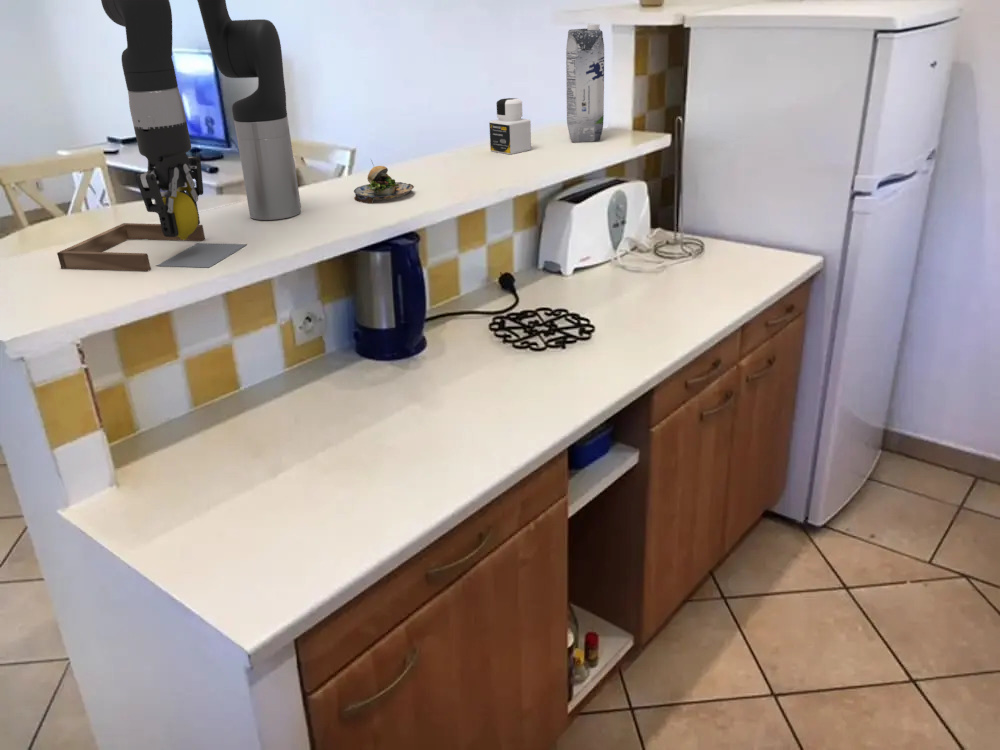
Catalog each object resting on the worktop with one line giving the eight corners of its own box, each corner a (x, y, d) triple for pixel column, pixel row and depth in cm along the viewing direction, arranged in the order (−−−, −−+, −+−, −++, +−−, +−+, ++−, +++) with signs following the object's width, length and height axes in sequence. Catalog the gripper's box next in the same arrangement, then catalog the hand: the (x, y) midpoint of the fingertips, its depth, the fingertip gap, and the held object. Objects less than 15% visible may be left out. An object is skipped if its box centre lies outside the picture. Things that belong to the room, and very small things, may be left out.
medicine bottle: (490, 151, 204) (487, 99, 199) (511, 146, 208) (509, 96, 203) (510, 154, 199) (508, 101, 194) (531, 150, 203) (530, 98, 198)
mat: (197, 243, 141) (197, 243, 141) (246, 244, 139) (246, 244, 139) (156, 266, 130) (156, 265, 130) (209, 267, 128) (209, 267, 128)
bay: (126, 237, 146) (123, 223, 145) (205, 239, 143) (202, 224, 142) (61, 268, 131) (56, 252, 130) (147, 271, 128) (143, 255, 127)
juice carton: (567, 143, 209) (567, 25, 197) (566, 136, 218) (565, 23, 207) (604, 142, 208) (605, 24, 197) (601, 135, 218) (602, 21, 206)
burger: (370, 208, 159) (366, 168, 156) (344, 197, 168) (339, 159, 165) (426, 197, 165) (423, 158, 162) (397, 187, 174) (394, 150, 171)
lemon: (208, 234, 137) (198, 185, 133) (193, 244, 132) (182, 193, 128) (175, 234, 137) (165, 185, 134) (159, 245, 132) (148, 194, 129)
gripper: (165, 113, 134) (186, 218, 141) (107, 129, 121) (134, 243, 128) (207, 113, 132) (227, 219, 139) (153, 129, 119) (178, 244, 127)
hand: (182, 230), depth 134 cm, fingers closed on lemon, 5 cm apart
